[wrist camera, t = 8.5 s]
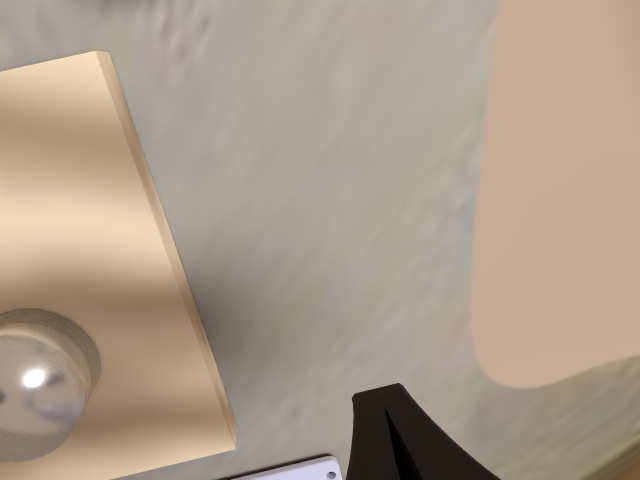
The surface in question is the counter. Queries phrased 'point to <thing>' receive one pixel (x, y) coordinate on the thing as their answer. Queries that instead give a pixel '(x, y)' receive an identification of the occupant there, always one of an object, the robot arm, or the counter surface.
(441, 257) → the counter surface
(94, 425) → the cutting board
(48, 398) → the grey bar with knob
